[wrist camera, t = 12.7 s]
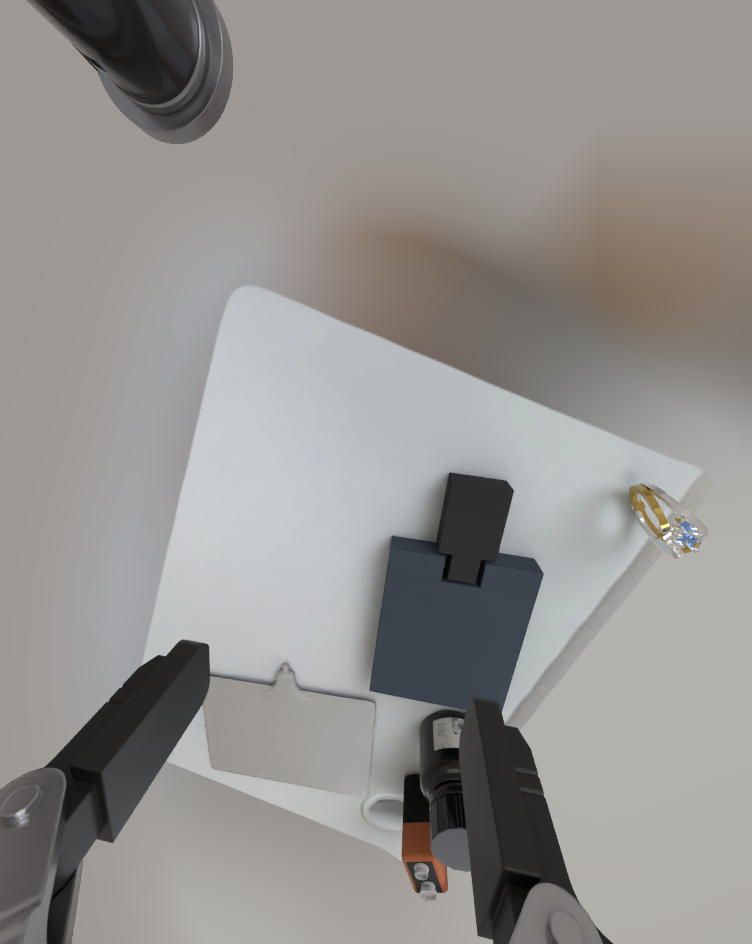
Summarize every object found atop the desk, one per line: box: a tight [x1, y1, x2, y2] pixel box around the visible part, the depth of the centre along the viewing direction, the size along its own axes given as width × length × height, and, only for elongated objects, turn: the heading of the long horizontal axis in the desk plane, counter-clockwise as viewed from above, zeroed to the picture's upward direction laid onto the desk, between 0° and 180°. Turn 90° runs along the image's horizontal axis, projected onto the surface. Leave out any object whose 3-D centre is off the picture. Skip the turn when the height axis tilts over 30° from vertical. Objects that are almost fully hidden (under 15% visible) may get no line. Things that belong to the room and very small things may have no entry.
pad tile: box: [437, 473, 514, 584], centre depth 37 cm, size 11×6×3 cm, turn 174°
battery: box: [402, 775, 448, 901], centre depth 46 cm, size 4×7×10 cm, turn 17°
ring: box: [629, 482, 708, 558], centre depth 32 cm, size 7×3×8 cm, turn 25°
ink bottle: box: [420, 711, 471, 872], centre depth 41 cm, size 10×9×12 cm
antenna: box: [203, 664, 376, 797], centre depth 50 cm, size 25×24×1 cm
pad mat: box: [370, 536, 543, 713], centre depth 41 cm, size 20×16×3 cm
